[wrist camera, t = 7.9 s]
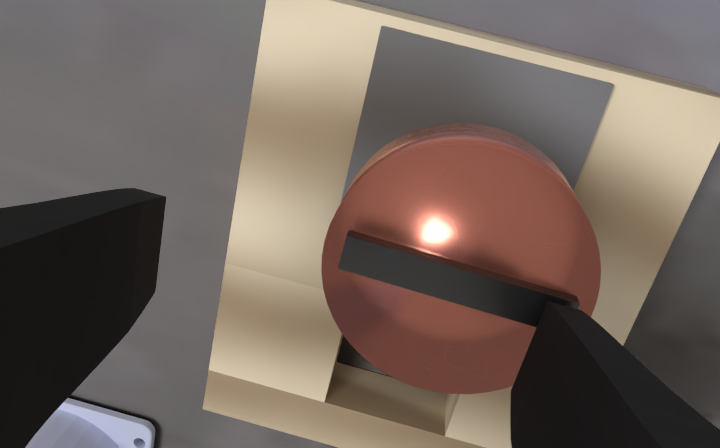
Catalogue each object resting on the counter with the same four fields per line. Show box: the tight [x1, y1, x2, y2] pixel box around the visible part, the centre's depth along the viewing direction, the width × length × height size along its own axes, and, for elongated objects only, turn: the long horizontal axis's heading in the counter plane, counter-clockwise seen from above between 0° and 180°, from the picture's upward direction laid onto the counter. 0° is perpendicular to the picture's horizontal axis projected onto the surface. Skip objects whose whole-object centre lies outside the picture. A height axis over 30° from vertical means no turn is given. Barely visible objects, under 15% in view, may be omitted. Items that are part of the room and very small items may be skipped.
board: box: [203, 0, 720, 448], centre depth 21 cm, size 15×13×3 cm
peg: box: [321, 123, 601, 394], centre depth 15 cm, size 5×5×7 cm
